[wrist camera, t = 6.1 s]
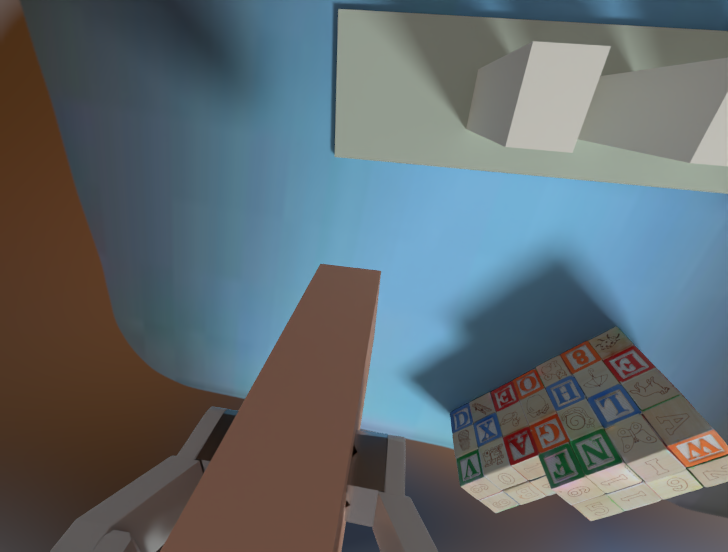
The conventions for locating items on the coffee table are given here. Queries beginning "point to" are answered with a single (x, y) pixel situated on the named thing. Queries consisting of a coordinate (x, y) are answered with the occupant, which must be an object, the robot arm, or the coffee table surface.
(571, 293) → the coffee table surface
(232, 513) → the domino
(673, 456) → the stack of blocks
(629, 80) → the domino
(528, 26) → the mat
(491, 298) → the coffee table surface
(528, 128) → the domino
